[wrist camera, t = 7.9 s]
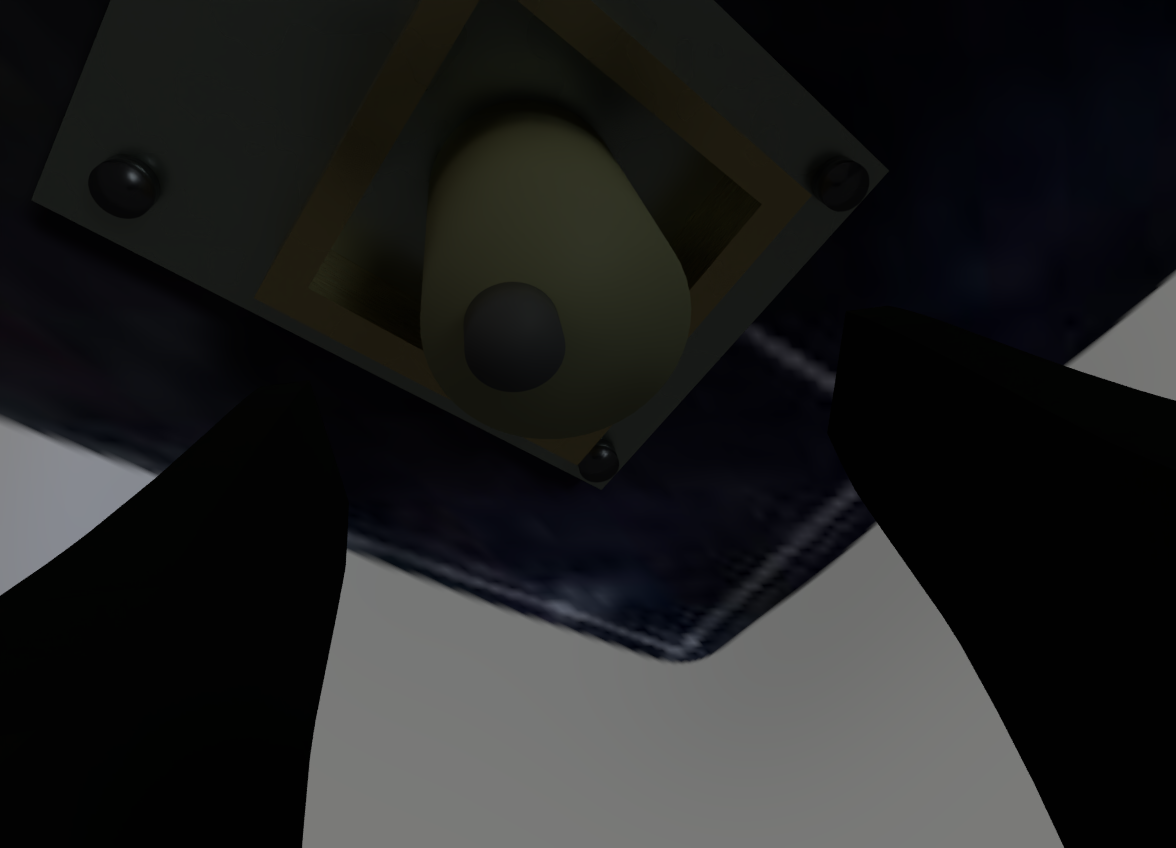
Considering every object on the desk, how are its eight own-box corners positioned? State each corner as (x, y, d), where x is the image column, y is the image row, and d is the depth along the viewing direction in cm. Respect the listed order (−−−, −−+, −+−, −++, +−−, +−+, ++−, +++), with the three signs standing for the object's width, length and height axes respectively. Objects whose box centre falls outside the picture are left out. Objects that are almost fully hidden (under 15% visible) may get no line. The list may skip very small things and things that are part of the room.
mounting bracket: (870, 160, 20) (943, 201, 17) (596, 470, 24) (616, 544, 21) (289, -401, 13) (243, -494, 10) (51, 186, 17) (-29, 240, 14)
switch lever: (637, 114, 17) (736, 230, 11) (602, 297, 20) (669, 470, 14) (433, 85, 16) (424, 195, 10) (424, 282, 19) (413, 460, 13)
